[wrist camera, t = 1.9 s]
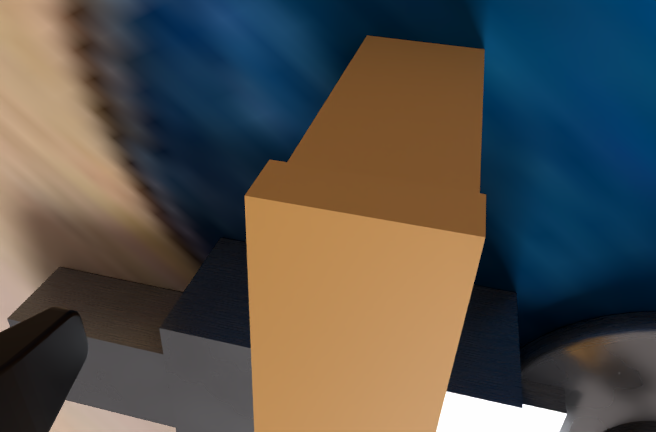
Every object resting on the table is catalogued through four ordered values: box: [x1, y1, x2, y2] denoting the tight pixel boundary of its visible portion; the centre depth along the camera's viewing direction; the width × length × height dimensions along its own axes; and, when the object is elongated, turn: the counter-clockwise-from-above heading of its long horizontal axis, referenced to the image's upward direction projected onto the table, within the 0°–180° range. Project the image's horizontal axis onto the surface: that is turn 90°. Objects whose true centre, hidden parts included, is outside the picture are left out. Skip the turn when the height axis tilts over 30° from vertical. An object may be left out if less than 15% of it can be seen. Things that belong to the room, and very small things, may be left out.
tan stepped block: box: [245, 35, 486, 432], centre depth 12 cm, size 3×6×9 cm, turn 177°
